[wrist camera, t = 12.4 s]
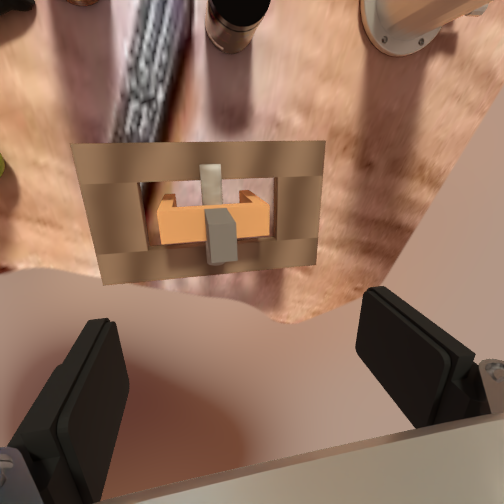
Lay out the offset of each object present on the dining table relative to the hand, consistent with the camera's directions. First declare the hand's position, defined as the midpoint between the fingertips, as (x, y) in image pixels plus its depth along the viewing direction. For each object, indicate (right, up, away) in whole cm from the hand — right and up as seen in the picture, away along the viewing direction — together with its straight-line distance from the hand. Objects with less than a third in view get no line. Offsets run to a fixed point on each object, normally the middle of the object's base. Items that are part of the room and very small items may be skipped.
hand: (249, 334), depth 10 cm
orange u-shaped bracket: (-5, +9, +24) cm, 26 cm away
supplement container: (-3, +30, +23) cm, 38 cm away
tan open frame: (-6, +11, +29) cm, 32 cm away
